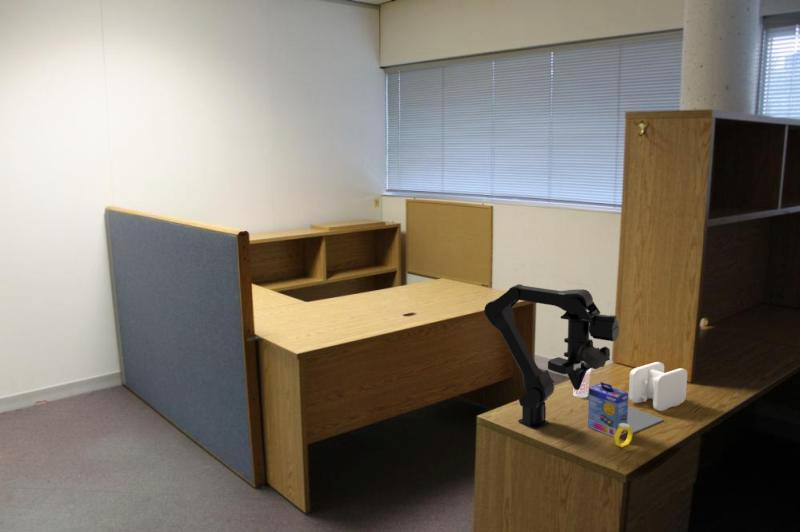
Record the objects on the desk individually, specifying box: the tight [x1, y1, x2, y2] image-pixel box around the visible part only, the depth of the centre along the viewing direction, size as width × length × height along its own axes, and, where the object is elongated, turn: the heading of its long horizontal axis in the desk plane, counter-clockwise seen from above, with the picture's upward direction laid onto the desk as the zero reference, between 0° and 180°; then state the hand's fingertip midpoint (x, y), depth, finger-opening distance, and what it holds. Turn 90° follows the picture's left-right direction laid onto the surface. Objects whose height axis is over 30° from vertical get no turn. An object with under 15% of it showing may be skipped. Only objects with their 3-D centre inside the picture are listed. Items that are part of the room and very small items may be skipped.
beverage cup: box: [572, 368, 592, 399], centre depth 216 cm, size 6×6×14 cm
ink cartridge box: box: [587, 381, 629, 438], centre depth 190 cm, size 10×6×14 cm, turn 39°
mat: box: [627, 406, 665, 434], centre depth 197 cm, size 15×12×1 cm
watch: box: [614, 423, 634, 448], centre depth 181 cm, size 6×3×6 cm, turn 124°
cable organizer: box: [628, 361, 688, 412], centre depth 208 cm, size 15×11×12 cm
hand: (576, 389), depth 187 cm, fingers closed
